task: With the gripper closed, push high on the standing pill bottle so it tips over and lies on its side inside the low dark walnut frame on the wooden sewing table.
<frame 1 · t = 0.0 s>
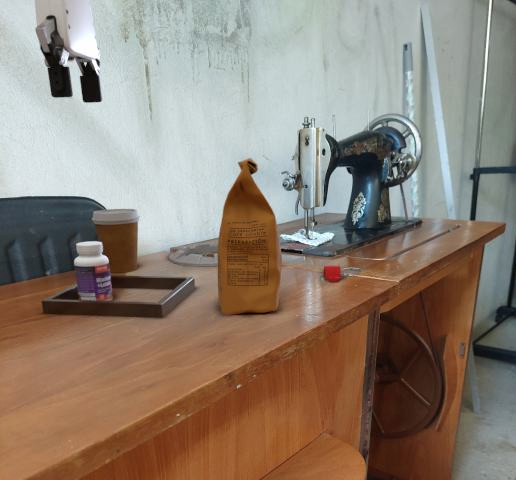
hand: (78, 99, 82), 31 cm above the table, tool pointing down, fingers open, 9 cm apart
disposable coffee cup: (122, 270, 109), on the table
coffee package: (250, 307, 82), on the table
walnut frame: (125, 302, 85), on the table
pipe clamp: (331, 278, 99), on the table
pill bottle: (97, 303, 86), resting in walnut frame
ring: (212, 258, 119), on the table
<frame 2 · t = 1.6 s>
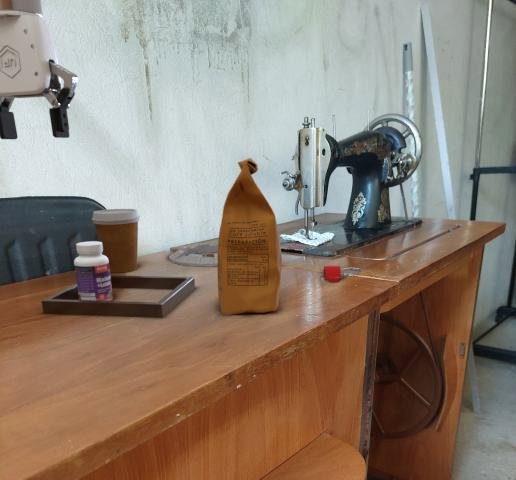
hand: (35, 138, 80), 25 cm above the table, tool pointing down, fingers open, 9 cm apart
nothing on the table moved.
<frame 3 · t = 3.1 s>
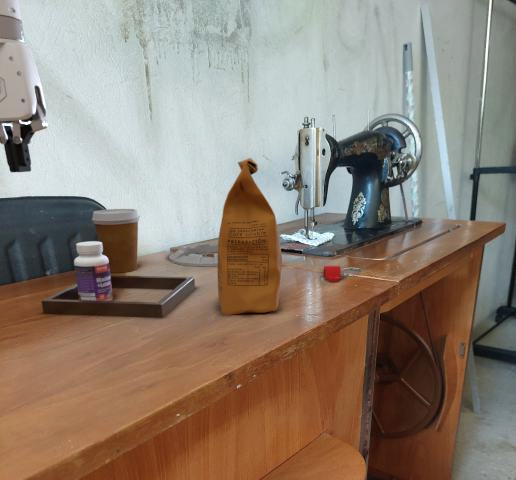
hand: (20, 171, 80), 21 cm above the table, tool pointing down, fingers closed
nothing on the table moved.
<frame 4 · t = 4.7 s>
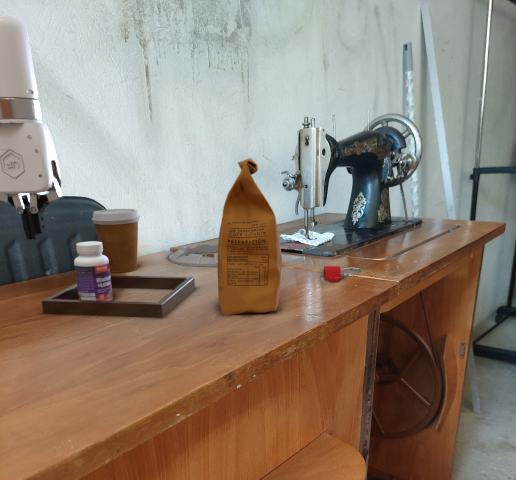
hand: (36, 237, 84), 11 cm above the table, tool pointing down, fingers closed
nothing on the table moved.
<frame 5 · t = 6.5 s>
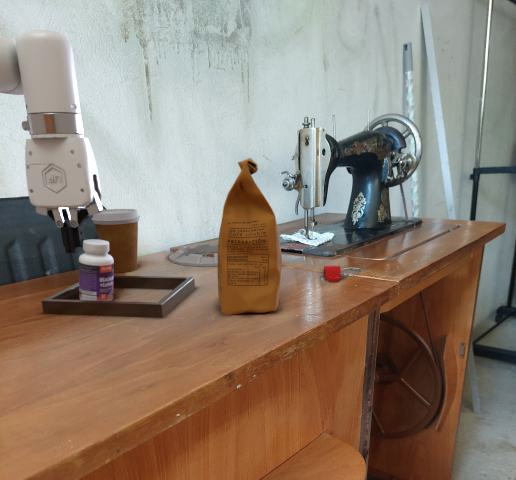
hand: (75, 251, 83), 8 cm above the table, tool pointing down, fingers closed
pill bottle: (96, 301, 86), resting in walnut frame, touching gripper
everything else where it was.
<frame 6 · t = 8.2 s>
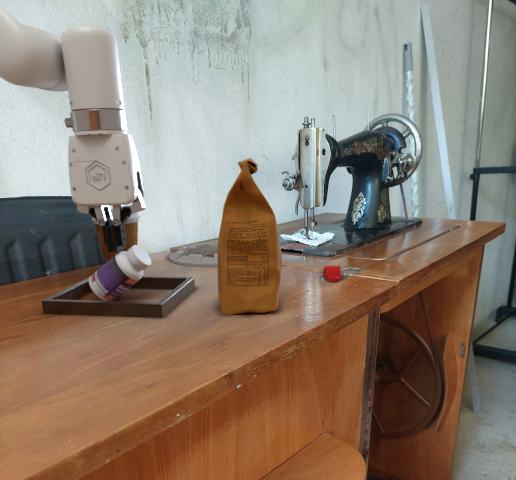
hand: (116, 250, 82), 9 cm above the table, tool pointing down, fingers closed
pill bottle: (100, 290, 85), point 2 cm above the table, touching gripper
everything else where it was.
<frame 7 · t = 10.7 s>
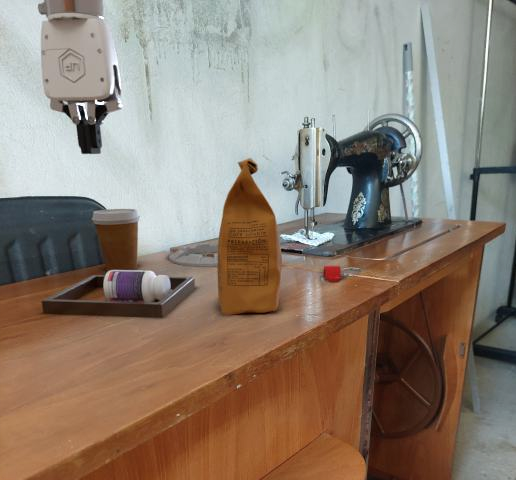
hand: (91, 153, 78), 23 cm above the table, tool pointing down, fingers closed
pill bottle: (108, 286, 84), point 3 cm above the table
everything else where it was.
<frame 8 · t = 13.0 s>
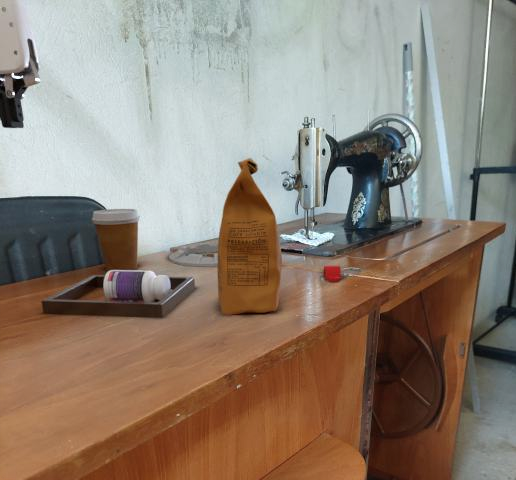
hand: (13, 127, 80), 27 cm above the table, tool pointing down, fingers closed
nothing on the table moved.
at the end: pill bottle tilted 90°; pill bottle inside the target area (2.6 cm from its centre), point 2.7 cm above the table; the gripper is holding nothing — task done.
